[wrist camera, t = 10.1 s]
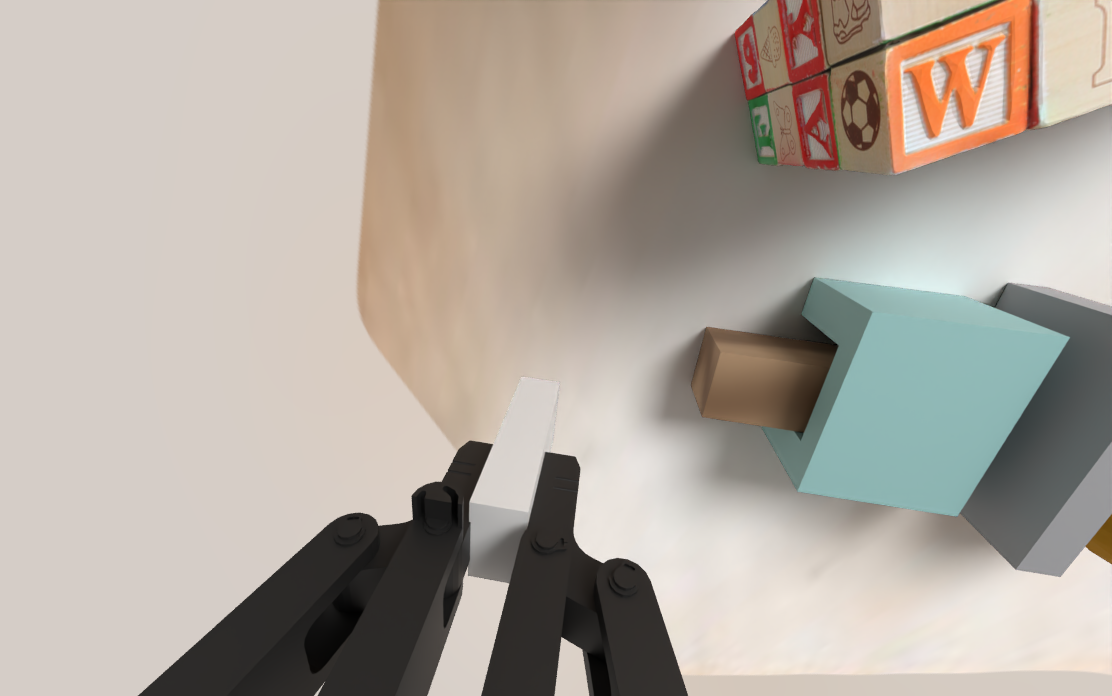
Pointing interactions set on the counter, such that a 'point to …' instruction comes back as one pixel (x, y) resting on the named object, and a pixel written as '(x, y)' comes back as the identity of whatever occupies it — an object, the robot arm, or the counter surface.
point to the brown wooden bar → (760, 378)
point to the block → (912, 395)
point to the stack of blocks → (916, 76)
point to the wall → (1053, 442)
